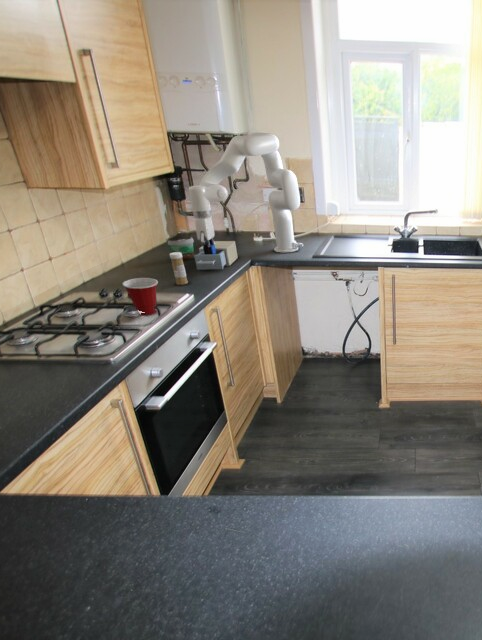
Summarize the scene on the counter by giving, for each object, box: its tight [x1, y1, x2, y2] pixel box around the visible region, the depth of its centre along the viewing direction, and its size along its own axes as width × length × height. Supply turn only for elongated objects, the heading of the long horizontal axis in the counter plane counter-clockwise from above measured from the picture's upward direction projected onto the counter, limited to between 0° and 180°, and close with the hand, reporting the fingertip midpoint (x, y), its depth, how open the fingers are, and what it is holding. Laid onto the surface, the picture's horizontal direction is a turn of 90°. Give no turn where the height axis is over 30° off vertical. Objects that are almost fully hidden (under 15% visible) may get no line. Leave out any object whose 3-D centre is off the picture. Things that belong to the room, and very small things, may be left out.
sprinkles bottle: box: [169, 252, 189, 286], centre depth 201 cm, size 5×5×13 cm
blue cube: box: [203, 245, 216, 255], centre depth 221 cm, size 4×4×4 cm
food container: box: [167, 236, 195, 261], centre depth 236 cm, size 12×6×10 cm, turn 143°
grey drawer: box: [194, 250, 227, 271], centre depth 223 cm, size 18×11×7 cm, turn 8°
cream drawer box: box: [198, 240, 239, 267], centre depth 233 cm, size 15×13×9 cm
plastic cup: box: [121, 277, 159, 316], centre depth 171 cm, size 11×11×12 cm
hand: (210, 253), depth 222 cm, fingers closed on blue cube, 4 cm apart
